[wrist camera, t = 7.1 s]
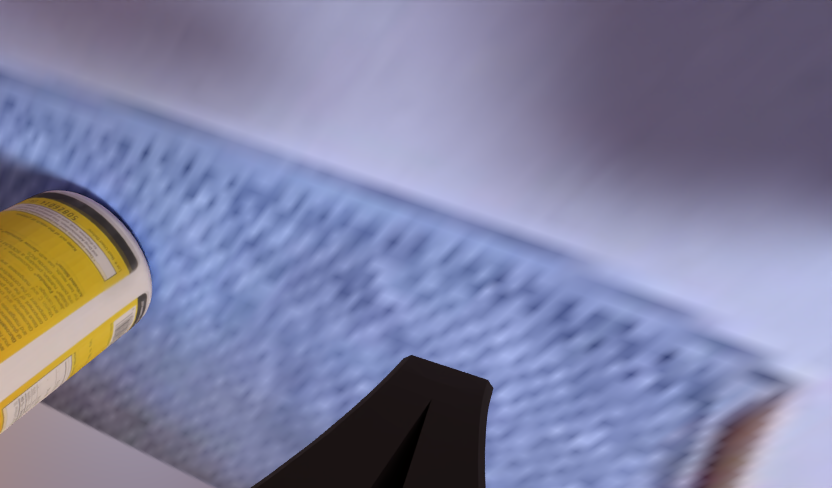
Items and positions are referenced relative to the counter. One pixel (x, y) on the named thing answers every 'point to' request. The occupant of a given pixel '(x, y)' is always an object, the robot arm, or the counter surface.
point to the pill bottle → (62, 293)
